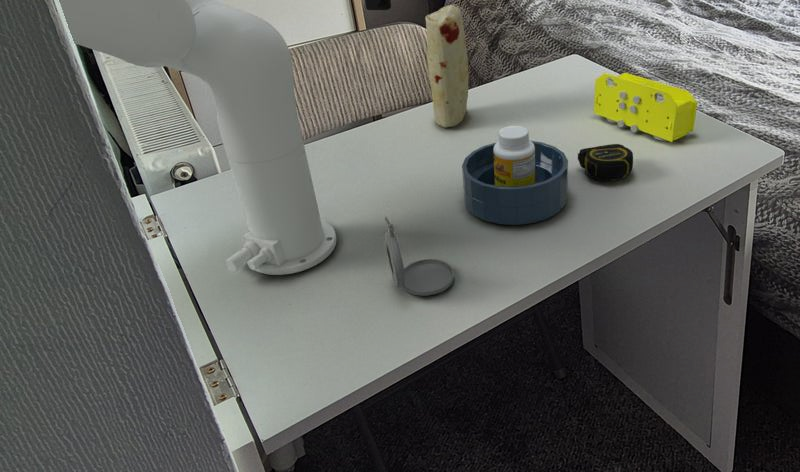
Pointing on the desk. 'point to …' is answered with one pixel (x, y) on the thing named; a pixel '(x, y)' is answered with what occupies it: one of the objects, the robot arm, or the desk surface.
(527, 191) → the blue faceted bowl
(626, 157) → the tape measure
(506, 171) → the supplement bottle
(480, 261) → the desk surface
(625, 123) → the yellow toy chassis
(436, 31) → the food model
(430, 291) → the pocket watch
